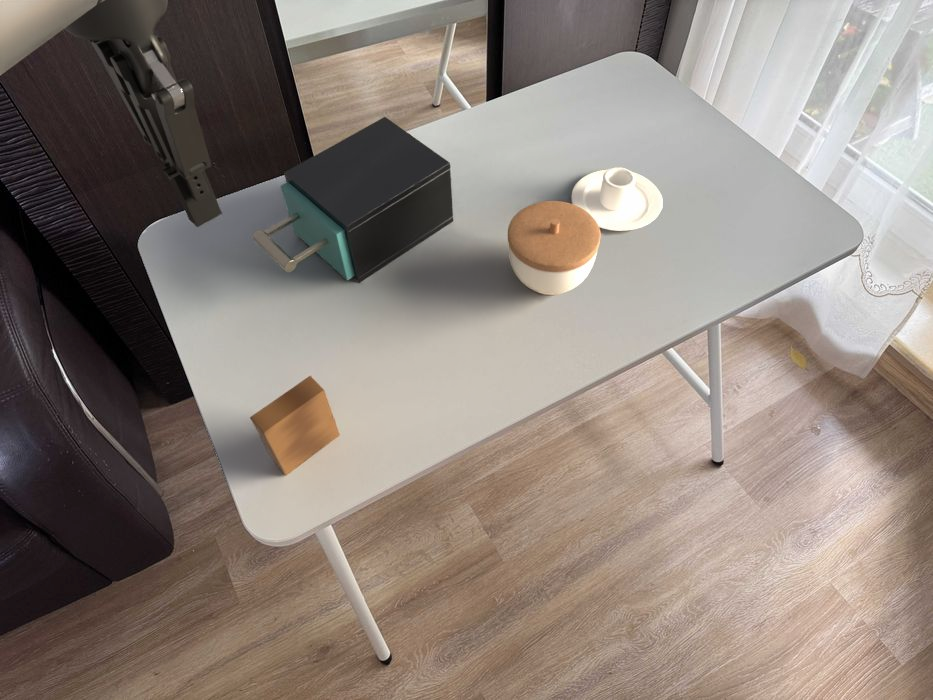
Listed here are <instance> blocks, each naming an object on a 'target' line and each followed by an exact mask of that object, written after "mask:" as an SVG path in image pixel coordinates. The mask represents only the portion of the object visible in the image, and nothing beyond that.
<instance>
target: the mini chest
mask: <svg viewBox="0 0 933 700" xmlns="http://www.w3.org/2000/svg"><path fill="white" fill-rule="evenodd" d="M283 175H284V178H285V183H287V182H289V183H290V184H291V185H293V186H294V187H295V188H296V189H297V190H298V191H300V192H301V193H302V194H303V195H304V196H305V197H308V198H309V199H310V200H311V201H312V202H313V203H315V204H316V205H317V206H318V207H319V208H320V209H322V210H323V211H324V212H325V213H326V214H327V215H329V216H330V217H331V218H332V219H333V220H334V221H335V222H337V223H338V224H339V225H340V226H341V227H342V228H344V231H345V235H346V239H347V244H348V248H349V252H350V257H351V261H352V265H353V270H354V274H355V276H354V277H352V278H353V279H354V280H355V281H356V282H358V284H360V283H363V282H364V281H365V280H367V279H368V278H369V277H371V276H372V275H374V274H376V273H377V272H378V271H380V270H382V269H383V268H385V267H386V266H387V265H389V264H391V263H392V262H394V261H395V260H397V259H398V258H400V257H402V256H403V255H405V254H406V253H408V252H409V251H410V250H412V249H414V248H415V247H417V246H418V245H420V244H421V243H423V242H424V241H425V240H428V238H431V237H432V236H433V235H435V234H436V233H438V232H439V231H441V230H442V229H445V228H446V227H447V226H449V225H451V223H453V222H454V211H453V210H454V209H453V191H452V190H453V189H452V176H451V163H450V162H449V160H447V159H446V158H444V157H443V156H442V155H440V154H439V153H437V152H436V151H434V150H433V149H431V148H430V147H428V146H427V145H426V144H424V143H423V142H421V141H420V140H419V139H417V138H416V137H414V136H413V135H412V134H410V133H409V132H407V131H406V130H404V129H403V128H402V127H401V126H399V125H398V124H397V123H395V122H393V121H392V120H390V119H389V118H387V117H386V116H383V117H381V118H380V119H378V120H376V121H375V122H372V123H371V124H369V125H367V126H366V127H364V128H362V129H360V130H358V131H356V132H355V133H353V134H351V135H349V136H347V137H346V138H343V139H342V140H340V141H339V142H336V143H334V144H333V145H332V146H330V147H327V148H326V149H324V150H322V151H320V152H318V153H317V154H315V155H313V156H311V157H310V158H308V159H306V160H304V161H302V162H301V163H299V164H297V165H295V166H293V167H291V168H290V169H288V170H286V171H284V172H283Z"/></svg>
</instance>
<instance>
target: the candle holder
mask: <svg viewBox="0 0 933 700" xmlns="http://www.w3.org/2000/svg"><path fill="white" fill-rule="evenodd" d="M571 204H573V205H576V206H578V207H580V208H582V209H584V210H585V211H587V212H588V213H589V214H590V215H591V216H592V217H593V218H594V219H595V221H596V222H597V224H598V226H599V229H604V230H608V231H615V232H625V231H634V230H638V229H641V228H644V227H646V226H647V225H650V224H651V223H653V221H654V220H656V219H657V217H658V216H659V215H660V213H661V211H662V210H663V196H662V194H661V192H660V190H659V189H658V187H657V186H656V185H655V183H653V182H652V181H651V180H649V179H648V178H647V177H644V176H643V175H640V174H639V173H636V172H633V171H631V170H629V169H627V168H624V167H619V166H618V167H611V168H608V169H607V168H606V169H600V170H595V171H593V172H590V173H588V174H586V175H585V176H583V177H582V178H580V179H579V180H578V181H577V182H576V183H575V185H574V186H573V188H572V192H571Z"/></svg>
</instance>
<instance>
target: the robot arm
mask: <svg viewBox="0 0 933 700" xmlns="http://www.w3.org/2000/svg"><path fill="white" fill-rule="evenodd" d="M168 3H169V1H168V0H0V76H2V75H3V74H4V73H6V72H7V71H9V70H10V69H11V68H12V67H15V65H17V64H18V63H19V62H21V61H22V60H23V59H25V58H26V57H28V56H29V55H31V54H32V53H34V52H35V51H36V50H37V49H38V48H40V47H41V46H43V45H44V44H45V43H47V42H48V41H49V40H51V39H52V38H54V37H55V36H56V35H58V34H59V33H61V32H62V31H63V30H65V31H66V32H67V33H69V34H71V35H72V36H74V37H75V38H79V39H81V40H86V41H88V42H89V43H90V44H91V46H92V47H93V49H94V50H95V52H96V53H97V55H98V57H99V59H100V60H101V62H102V63H103V65H104V67H105V69H106V71H107V73H108V74H109V76H110V78H111V80H112V82H113V84H114V85H115V88H116V90H117V91H118V93H119V95H120V97H121V99H122V100H123V102H124V104H125V106H126V108H127V109H128V111H129V113H130V115H131V117H132V119H133V122H135V124H136V127H137V128H138V130H139V131H140V133H141V135H142V139H143V141H144V142H145V143H146V144H147V145H148V146H152V147H153V149H154V153H155V155H156V156H157V158H158V159H159V160H160V161H161V162H164V161H165V162H166V163H164V164H163V167H164V168H163V169H162V172H163V173H164V175H165V177H167V179H168V180H170V182H171V184H172V186H173V188H174V190H175V192H176V195H177V197H178V199H179V201H180V203H181V205H182V207H183V210H184V212H185V214H186V216H187V219H188V220H189V221H190V222H191V223H192V224H193V225H194V226H195V227H196V228H197V229H198V228H200V227H201V226H204V225H205V224H206V223H209V222H210V221H212V220H214V219H215V218H217V217H219V216H221V215H222V214H223V211H222V210H221V207H220V205H219V202H218V200H217V198H216V195H215V192H214V189H213V188H212V185H211V182H210V181H209V178H208V176H207V173H206V171H205V170H207V169H209V168H211V167H212V162H211V158H210V156H209V155H210V154H209V152H208V147H207V145H206V141H205V137H204V134H203V131H202V127H201V124H200V119H199V117H198V113H197V109H196V106H195V91H194V87H193V85H192V82H190V81H189V80H188V79H187V78H186V77H184V78H182V79H179V80H178V79H177V76H176V75H175V72H174V70H173V67H172V65H171V62H172V61H171V60H172V56H171V53H170V51H169V49H168V46H167V44H166V42H165V41H164V39H163V38H162V37H161V36H160V35H158V36H157V35H156V33H155V28H156V26H157V24H158V22H159V21H160V19H162V17H164V15H165V13H166V11H167V8H168Z"/></svg>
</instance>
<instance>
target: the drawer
mask: <svg viewBox="0 0 933 700" xmlns="http://www.w3.org/2000/svg"><path fill="white" fill-rule="evenodd" d="M280 190H281V194H282V197H283V200H284V203H285V206H286V209H287V213H288V215H289V216H288V217H286V218H285V219H283V220H281V221H280V222H278V223H276V224H275V225H273V226H272V227H269V228H268V229H266V230H262V229H258V230H255V232H254V233H252V240H253V241H254V242H255V243H256V244H257V245H258V247H260V249H262V250H263V251H264V252H265V253H266V255H268V256H269V257H270V258H271V259H272V260H273V261H274V262H275V263H276V264H278V265H279V267H281V269H282V270H284V271H285V273H292V272H293V271H294V270H296V268H297V265H298V263H299V262H301V261H303V260H305V259H306V258H308V257H309V256H311V255H312V254H314V253H317V254H318V256H319V257H321V258H322V259H323V260H324V261H325V262H326V263H328V265H329V266H330V267H332V268H333V269H334V270H335V271H336V272H337V273H339V274H340V276H342V277H343V278H344V279H345V281H349V280H350V279H352V278H353V277H354V276H355V274H354V270H353V265H352V261H351V257H350V252H349V248H348V244H347V239H346V235H345V231H344V229H343V228H341V227H340V226H339V225H338V224H337V223H336V222H334V221H333V220H332V219H331V218H330V217H329V216H327V215H326V214H325V213H324V212H323V211H322V209H320V208H319V207H318V206H317V205H316V204H315V203H313V202H312V201H311V200H310V199H309V198H308V197H305V196H304V195H303V194H302V193H301V192H300V191H298V190H297V189H296V188H295V187H294V186H293V185H291V184H290V183H289V182H285V183H283V184H281V185H280ZM289 225H291V226H292V229H293V232H294V234H295V235H297V236H298V237H299V238H300V239H301V240H302V241H303V242H305V244H307V246H309V247H308V248H306V249H304V250H303V251H301V252H299V253H297V254H296V255H294V256H292V257H291V256H290V255H289V253H287V252H286V251H285V250H284V249H283V248H282V247H281V246H280V245H279V244H277V243H276V241H274V239H272V238H271V236H273V235H274V234H276V233H278V232H279V231H281V230H283V229H285V228H286V227H288V226H289Z"/></svg>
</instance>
